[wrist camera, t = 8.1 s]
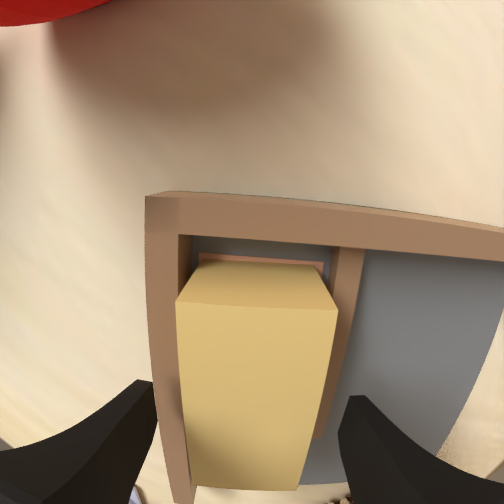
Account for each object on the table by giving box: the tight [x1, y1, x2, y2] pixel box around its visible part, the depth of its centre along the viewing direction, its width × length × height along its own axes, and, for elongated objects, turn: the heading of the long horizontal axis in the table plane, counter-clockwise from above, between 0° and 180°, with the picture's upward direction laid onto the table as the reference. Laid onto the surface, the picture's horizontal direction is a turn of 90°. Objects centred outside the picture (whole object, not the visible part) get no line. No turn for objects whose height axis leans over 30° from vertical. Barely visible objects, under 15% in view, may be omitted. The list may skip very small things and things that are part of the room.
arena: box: [145, 191, 504, 504], centre depth 14 cm, size 18×18×3 cm
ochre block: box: [175, 259, 338, 491], centre depth 12 cm, size 4×9×4 cm, turn 177°
